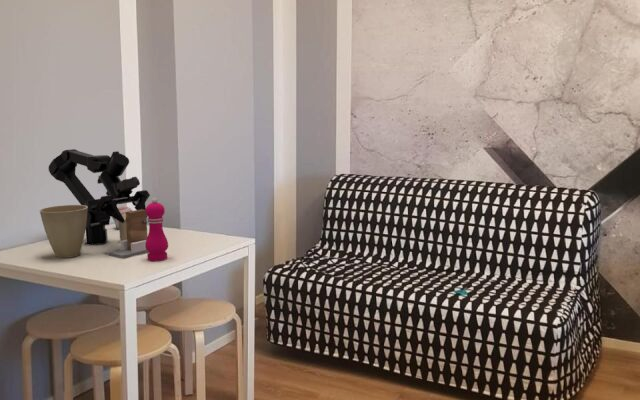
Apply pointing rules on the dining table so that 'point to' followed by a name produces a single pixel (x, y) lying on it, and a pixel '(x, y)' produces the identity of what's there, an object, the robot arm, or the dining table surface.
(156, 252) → the pepper mill
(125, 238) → the candle
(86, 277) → the dining table surface
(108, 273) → the dining table surface
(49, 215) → the plant pot
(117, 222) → the cupcake
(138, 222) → the door
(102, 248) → the dining table surface
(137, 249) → the board
